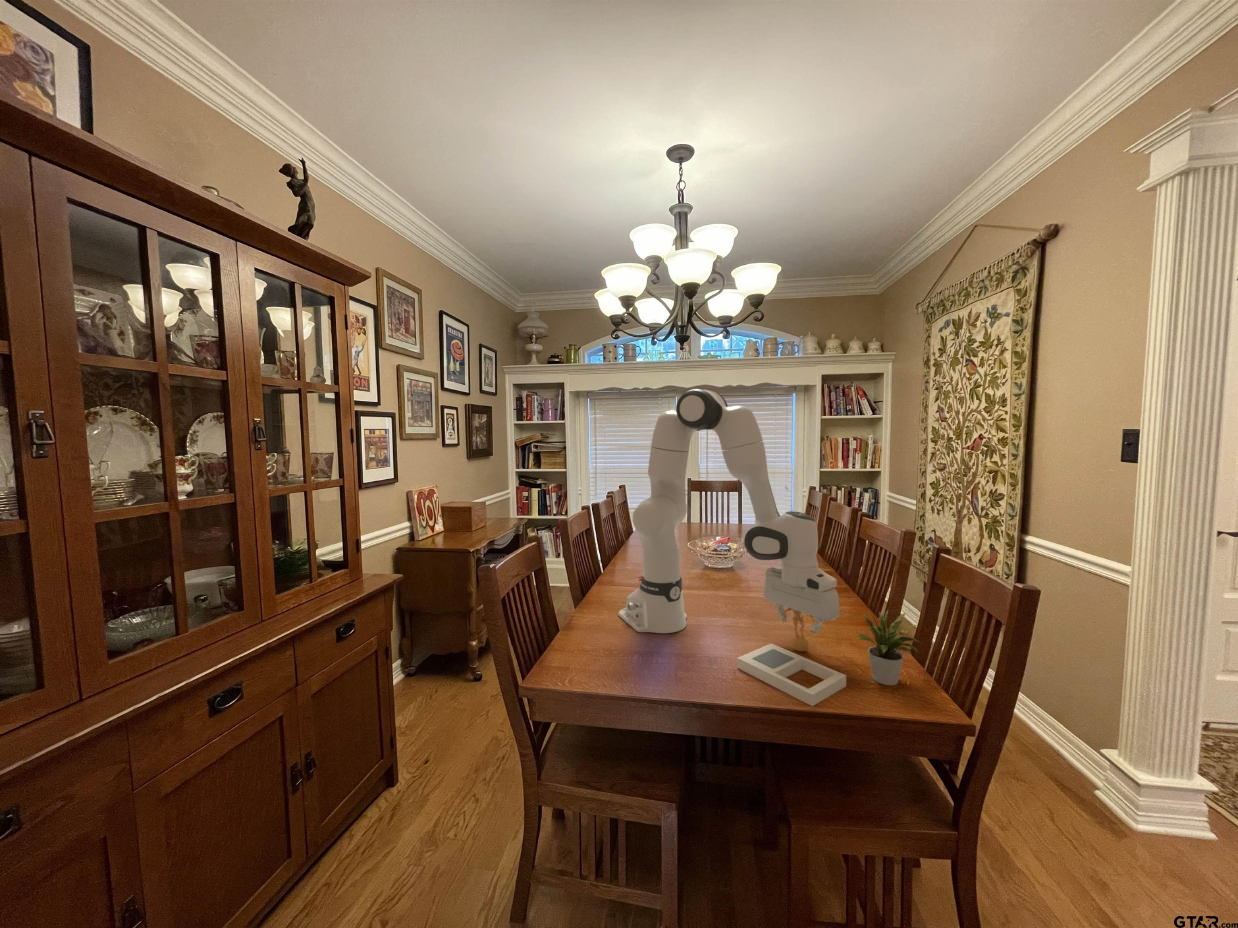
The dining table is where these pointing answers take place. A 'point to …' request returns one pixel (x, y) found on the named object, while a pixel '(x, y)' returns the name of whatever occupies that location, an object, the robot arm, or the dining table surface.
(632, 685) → the dining table surface
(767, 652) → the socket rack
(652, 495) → the robot arm
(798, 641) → the figurine
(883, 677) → the house plant
